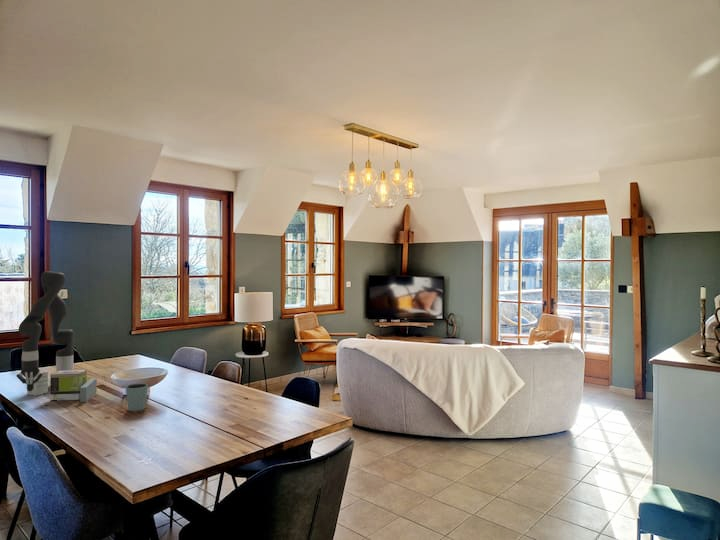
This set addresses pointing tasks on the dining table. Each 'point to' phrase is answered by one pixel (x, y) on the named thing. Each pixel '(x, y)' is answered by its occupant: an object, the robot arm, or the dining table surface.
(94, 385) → the stop board
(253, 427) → the dining table surface
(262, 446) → the dining table surface
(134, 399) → the grey green open cylinder
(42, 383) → the supplement box
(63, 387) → the tea box
